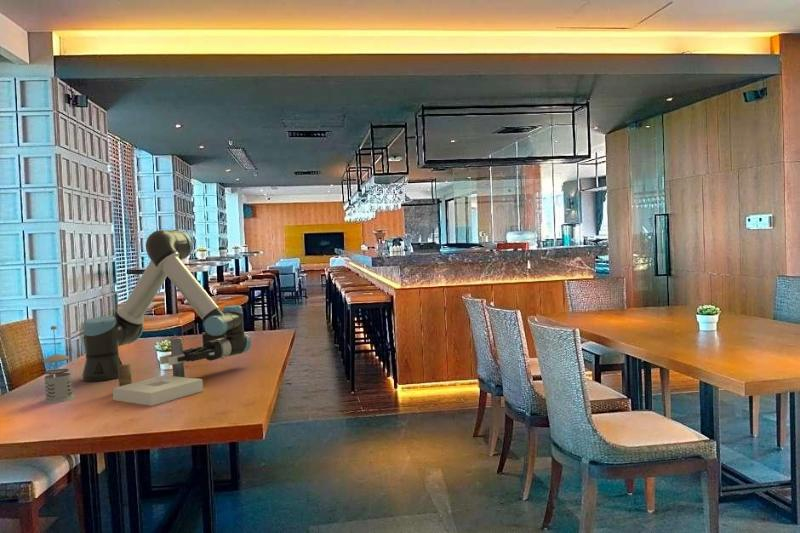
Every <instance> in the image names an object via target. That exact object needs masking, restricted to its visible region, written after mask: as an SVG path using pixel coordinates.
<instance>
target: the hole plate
mask: <svg viewBox="0 0 800 533" xmlns="http://www.w3.org/2000/svg"><path fill="white" fill-rule="evenodd" d="M203 384H204V383H203V379H202V378H193V377H186V376H185V377H176V376H173V375H165V374H164V375H159V376H156V377H152V378H148V379H144V380H141V381H136V382H132V383H131V384H127V385H123V386H116V387H113V388H112V397H113V401H117V402H124V403H131V404H137V405H143V406H150V407H151V406H152V407H153V406H156V405H159V404H163V403H167V402H171V401H174V400H177V399H180V398H184V397H186V396H191V395H195V394H197V393H201V392H203V391H204V386H203Z"/></svg>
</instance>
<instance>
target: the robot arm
mask: <svg viewBox="0 0 800 533" xmlns="http://www.w3.org/2000/svg"><path fill="white" fill-rule="evenodd" d="M193 244H194V243H193V241H192V238H191V237H190V235H189V234H188V233H187V232H185V231H182V230H178V229H171V230H169V229H167V230H166V229H159V230H156V231H155V230H154V231H153V232H151V234H149V235H148V237H147V239H146V241H145V251H146V253H147V256H148V258H149V259H150V261H149V263H148V264H147V266H146V268H145V270H144V271H143V273H141V276H140V278H139V279H138V282H137V283H136V285H135V286H134V288H133V290H132V291H131V293H130V294H129V297H128V298H127V299H126V301H125V303H124V304H123V306H120V307H118V308H117V309H116V310H115V312H114V314H113V315H104V316H103V315H102V316H98V317H92V318H89V319H87V320H86V321H85V322H84V323H83V331H82V334H83V337H84V338H83V339H84V349H85V350H84V351H85V363H84V367H83V371H82V374H81V375H82V376H81V377H82V381H84V382H102V381H108V380H113V379H115V380H116V379H117V378H118V379H119V375H118V366H120V365H124V364H123V362H122V360H121V358H120V355H119V354H120V353H119V347H120V346H125V345H127V344H128V345H129V344H131V343H134V342H135V341H137V340H138V339H139V338H140V337H141V336H142V335H143V331H144V327H143V325H144V323H145V319H144V316H145V314H146V313H147V310H148V308H149V307H150V305H151V304H152V302H153V301H154V299H155V297H156V296H157V294H158V292H159V291H160V289H161V287H162V285H163V284H164V282H166V279H167V277H168V279H169V280H170V281H171V283H172V285H174V286H175V287H176V289H177V290H178V291H179V293H180V294H181V296H183V297H184V299H185V300H186V302H187V303H188V304H189V305H190V306H191V308H192V309H193V310H194V311H195V313H196V314H197V315H198V316H199V317H200V319H201V321H203V323H204V324H203V327H204V331H205V332H207V333H208V334H209V335H211V336H218V335H222V334H224V333H225V338H220V339H215V340H211V341H207V342H205V343H204V345H203V346H198V347H197V346H196V348H193V347H190V348H188V349H183V354H182V355H177V356H173V357H172V356H171V353H169V354H167V355H162V356H159V364H160V365H165V364H168V366H172V365H173V364H177V363H181V362H184V363H185V362H196V361H199V360H204V359H206V360H208V361H215V360H218V359H221V360H224V359H225V358H226V357H227V358H228V357H233V356H235V355H240V354H242V353H243V354H244V353H246V352H248V351H249V350H250V349H251V346H252V339H251V337H250V336H249V335H248V334H246V333H245V330H244V329H245V328H244V312H243V307H242V306H241V305H238V304H236V305H235V304H234V305H226V306H223V308H222V310H221V308H219V306H218V305H217V304H216V302H215V301H214V300H213V299H212V297H211V296H210V294H208V292H207V291H206V290H205V289H204V287H203V286H202V285H201V283H200V282H199V281H198V280H197V278H196V277H195V276H194V275H193V273H192V272H191V271H190V270H189V269H188V267H187V265H185V264H184V262H183V261H182V260H183V259H187V258H188V256H190V255H191V254H192V251H193V247H194V245H193Z"/></svg>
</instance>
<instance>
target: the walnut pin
mask: <svg viewBox="0 0 800 533" xmlns="http://www.w3.org/2000/svg"><path fill="white" fill-rule="evenodd" d="M131 368H132V367H131V364H126V363H125V364H123V365H120V366H118V375H119V378H118V384H119V386H123V385H127V384H131V383H133V381H132V371H131ZM119 386H118V387H119Z"/></svg>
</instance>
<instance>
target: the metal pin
mask: <svg viewBox="0 0 800 533" xmlns="http://www.w3.org/2000/svg"><path fill="white" fill-rule="evenodd" d="M169 340H170V354H171V356H172V357H173V356H177V355H182V354H183V350H184V348H183V347H184V346H183V338H182V337H177V338H170V339H169ZM171 367H172V370H171V371H172V376H176V377H186V376H185V362H181V363H177V364H173V365H171Z"/></svg>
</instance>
